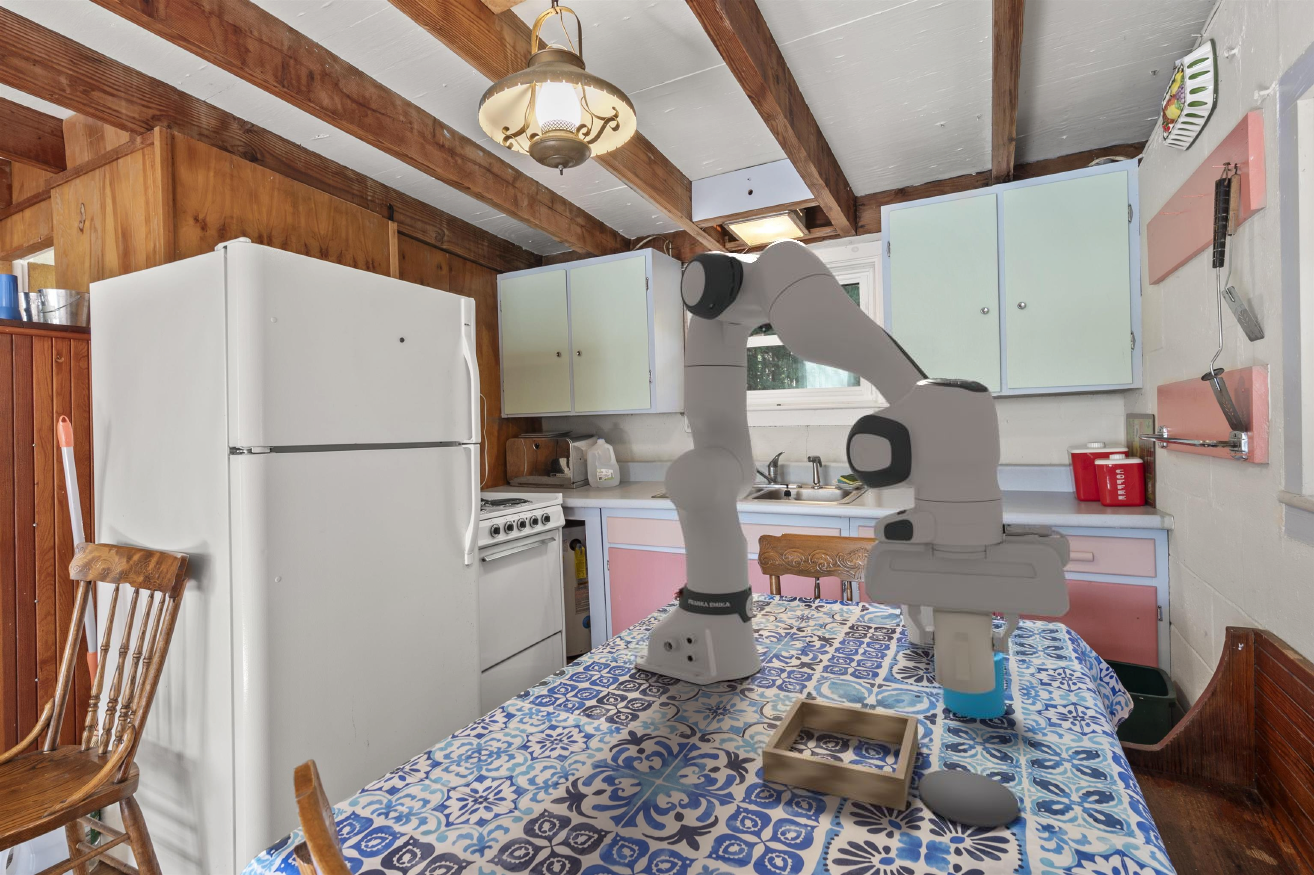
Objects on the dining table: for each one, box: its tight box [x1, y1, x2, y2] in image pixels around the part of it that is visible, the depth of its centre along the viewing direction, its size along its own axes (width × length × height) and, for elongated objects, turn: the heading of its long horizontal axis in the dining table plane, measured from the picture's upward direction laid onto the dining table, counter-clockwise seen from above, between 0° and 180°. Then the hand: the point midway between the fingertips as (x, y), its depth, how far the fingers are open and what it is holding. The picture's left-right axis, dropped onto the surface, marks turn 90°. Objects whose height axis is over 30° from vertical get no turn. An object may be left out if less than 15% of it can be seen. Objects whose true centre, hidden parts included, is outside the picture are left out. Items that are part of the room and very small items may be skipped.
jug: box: [932, 607, 995, 693], centre depth 70 cm, size 9×6×8 cm
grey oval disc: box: [918, 769, 1019, 828], centre depth 71 cm, size 10×10×1 cm
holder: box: [761, 697, 919, 812], centre depth 80 cm, size 16×16×4 cm
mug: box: [933, 652, 1006, 720], centre depth 96 cm, size 12×8×8 cm
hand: (963, 647), depth 71 cm, fingers closed on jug, 6 cm apart
